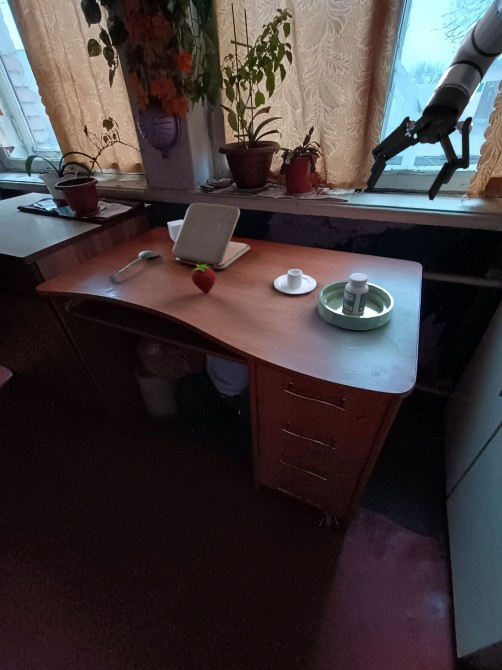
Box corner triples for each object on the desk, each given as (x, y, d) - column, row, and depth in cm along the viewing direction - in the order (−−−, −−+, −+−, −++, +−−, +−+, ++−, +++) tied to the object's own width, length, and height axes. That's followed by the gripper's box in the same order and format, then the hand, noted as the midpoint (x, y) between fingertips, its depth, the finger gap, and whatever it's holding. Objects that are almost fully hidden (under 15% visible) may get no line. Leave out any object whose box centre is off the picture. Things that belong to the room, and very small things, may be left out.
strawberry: (208, 302, 84) (202, 268, 78) (189, 294, 88) (182, 261, 82) (222, 292, 88) (218, 259, 82) (203, 285, 92) (198, 253, 85)
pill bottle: (362, 303, 79) (368, 271, 73) (366, 315, 75) (373, 282, 69) (340, 303, 79) (345, 271, 74) (343, 315, 75) (348, 282, 70)
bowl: (400, 306, 78) (404, 292, 75) (372, 341, 68) (376, 326, 65) (337, 287, 87) (339, 274, 84) (304, 315, 77) (305, 302, 74)
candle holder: (293, 272, 96) (293, 258, 93) (324, 284, 88) (326, 270, 86) (265, 286, 90) (264, 272, 87) (296, 301, 82) (297, 286, 80)
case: (171, 262, 106) (160, 214, 96) (207, 241, 120) (201, 197, 110) (220, 273, 97) (214, 221, 87) (253, 249, 111) (251, 202, 102)
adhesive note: (189, 238, 123) (186, 223, 119) (174, 242, 121) (171, 226, 117) (184, 234, 127) (181, 219, 124) (170, 237, 125) (167, 222, 122)
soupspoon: (164, 256, 112) (149, 255, 114) (161, 247, 110) (147, 246, 112) (119, 282, 95) (104, 280, 98) (116, 272, 94) (100, 270, 96)
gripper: (518, 114, 61) (461, 211, 62) (396, 114, 76) (352, 193, 77) (524, 80, 55) (460, 188, 56) (390, 87, 70) (342, 173, 71)
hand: (397, 191), depth 67 cm, fingers open, 13 cm apart
